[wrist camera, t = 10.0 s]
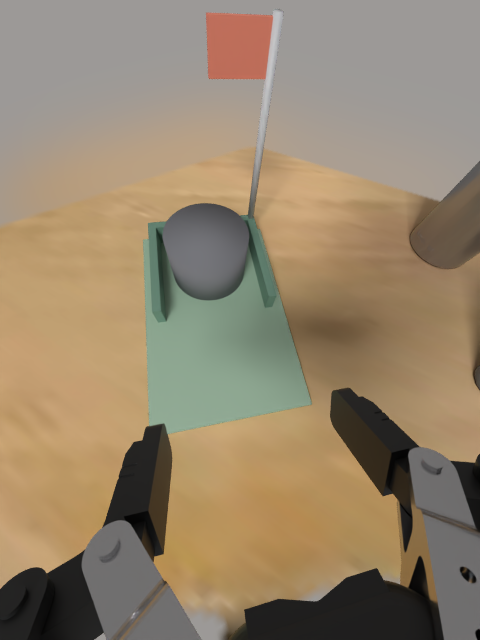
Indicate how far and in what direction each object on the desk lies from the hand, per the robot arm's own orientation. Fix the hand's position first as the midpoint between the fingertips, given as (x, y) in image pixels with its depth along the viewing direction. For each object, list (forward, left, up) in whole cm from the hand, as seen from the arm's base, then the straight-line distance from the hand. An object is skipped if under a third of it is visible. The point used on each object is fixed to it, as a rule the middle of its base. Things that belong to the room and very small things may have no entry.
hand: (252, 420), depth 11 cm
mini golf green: (0, -14, -17) cm, 22 cm away
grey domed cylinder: (0, -21, -16) cm, 26 cm away
